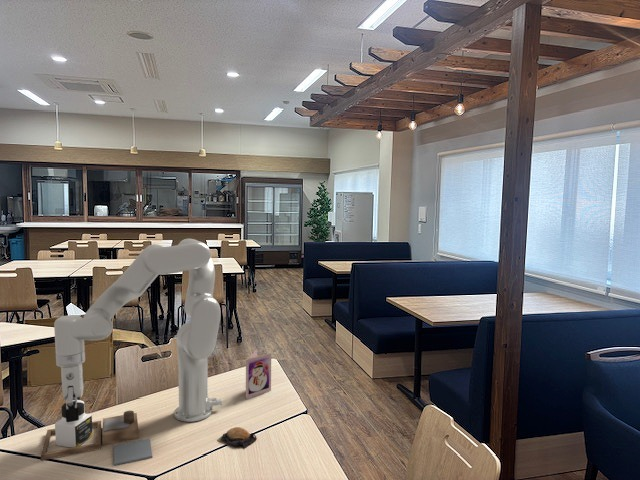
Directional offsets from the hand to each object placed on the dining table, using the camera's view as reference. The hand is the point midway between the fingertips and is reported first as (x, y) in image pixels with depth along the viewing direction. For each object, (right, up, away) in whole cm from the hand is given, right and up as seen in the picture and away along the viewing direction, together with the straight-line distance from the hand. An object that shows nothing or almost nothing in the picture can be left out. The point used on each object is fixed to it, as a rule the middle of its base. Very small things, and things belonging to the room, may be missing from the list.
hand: (73, 415), depth 135 cm
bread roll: (+49, -10, +4) cm, 50 cm away
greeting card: (+49, -6, +37) cm, 61 cm away
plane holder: (+4, -8, +3) cm, 10 cm away
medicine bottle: (0, -8, +1) cm, 8 cm away
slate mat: (+20, -9, -4) cm, 22 cm away
